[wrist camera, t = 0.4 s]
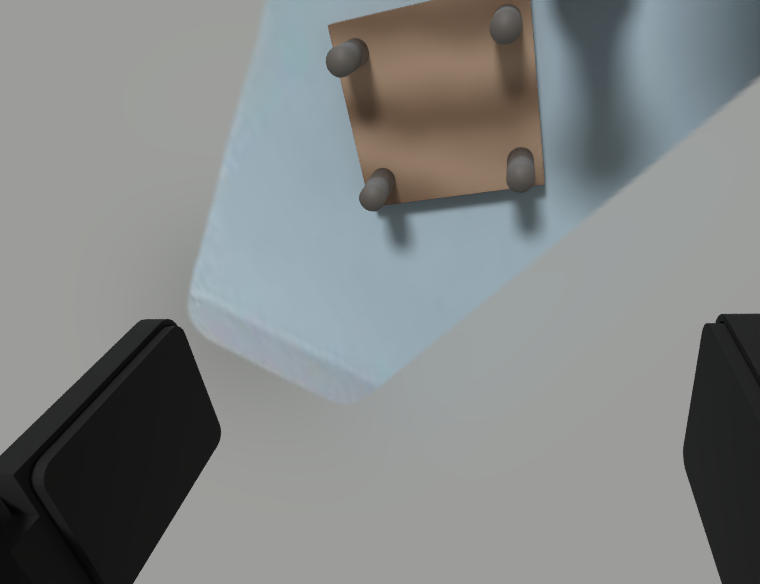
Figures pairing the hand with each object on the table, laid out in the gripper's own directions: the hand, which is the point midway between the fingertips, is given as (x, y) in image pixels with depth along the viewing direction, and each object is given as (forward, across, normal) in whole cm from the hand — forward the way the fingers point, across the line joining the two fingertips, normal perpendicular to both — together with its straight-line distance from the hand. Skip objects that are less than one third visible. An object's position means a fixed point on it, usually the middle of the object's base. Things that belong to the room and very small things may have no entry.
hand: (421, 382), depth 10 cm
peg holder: (+33, +4, +2) cm, 33 cm away
